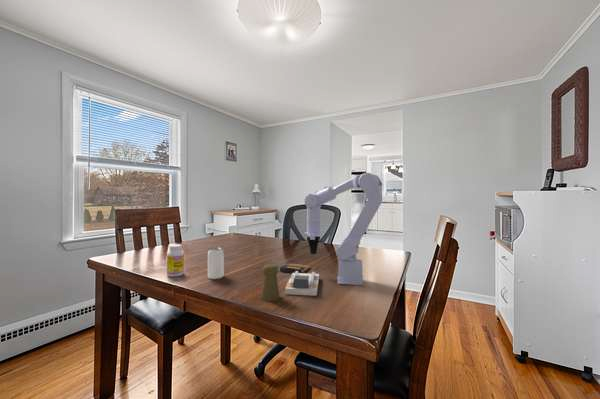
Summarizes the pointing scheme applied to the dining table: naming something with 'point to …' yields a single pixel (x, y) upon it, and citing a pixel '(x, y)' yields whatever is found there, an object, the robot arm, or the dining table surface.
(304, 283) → the switch tab
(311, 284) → the switch board
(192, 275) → the dining table surface
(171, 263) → the supplement bottle
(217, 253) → the can
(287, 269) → the ammunition clip
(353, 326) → the dining table surface
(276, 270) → the green chess rook
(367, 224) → the robot arm
